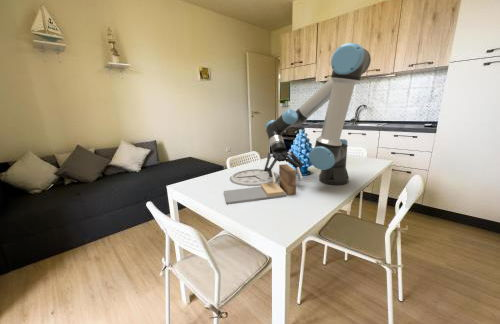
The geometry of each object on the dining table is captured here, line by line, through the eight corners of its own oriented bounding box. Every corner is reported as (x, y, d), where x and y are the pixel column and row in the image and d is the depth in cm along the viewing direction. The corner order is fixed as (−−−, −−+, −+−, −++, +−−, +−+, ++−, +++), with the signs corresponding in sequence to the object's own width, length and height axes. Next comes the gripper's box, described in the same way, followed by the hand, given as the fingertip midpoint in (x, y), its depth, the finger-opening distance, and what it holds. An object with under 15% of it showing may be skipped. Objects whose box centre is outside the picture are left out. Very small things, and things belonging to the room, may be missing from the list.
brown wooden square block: (286, 186, 115) (286, 164, 112) (295, 194, 104) (296, 170, 101) (279, 186, 115) (279, 164, 112) (287, 195, 103) (287, 171, 100)
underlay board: (277, 186, 115) (277, 181, 115) (286, 196, 102) (286, 191, 101) (224, 192, 110) (223, 188, 110) (226, 204, 97) (226, 199, 96)
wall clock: (286, 170, 137) (267, 186, 112) (286, 173, 138) (267, 189, 112) (244, 166, 151) (219, 180, 126) (244, 168, 152) (219, 182, 126)
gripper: (297, 147, 122) (309, 181, 112) (254, 151, 118) (261, 187, 107) (301, 139, 116) (314, 174, 106) (255, 143, 112) (264, 180, 101)
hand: (287, 181), depth 106 cm, fingers open, 13 cm apart
